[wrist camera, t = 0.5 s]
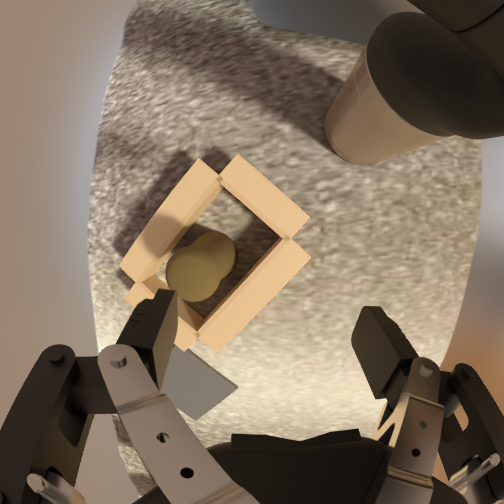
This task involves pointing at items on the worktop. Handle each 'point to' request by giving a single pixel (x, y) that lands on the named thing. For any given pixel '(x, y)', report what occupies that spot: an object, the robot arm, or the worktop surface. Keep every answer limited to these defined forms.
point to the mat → (194, 384)
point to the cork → (201, 266)
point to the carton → (180, 221)
